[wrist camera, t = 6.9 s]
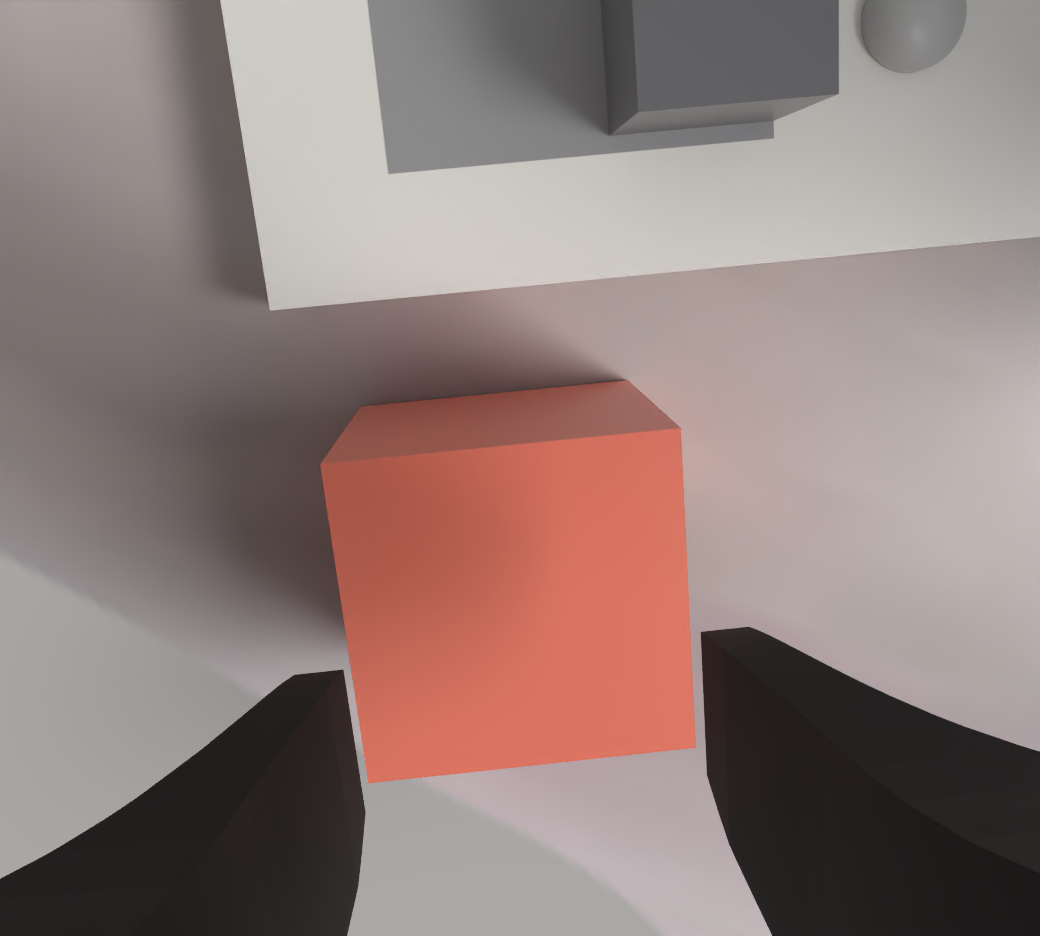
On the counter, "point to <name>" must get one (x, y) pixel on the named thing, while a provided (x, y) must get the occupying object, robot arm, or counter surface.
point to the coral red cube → (513, 579)
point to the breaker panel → (624, 136)
